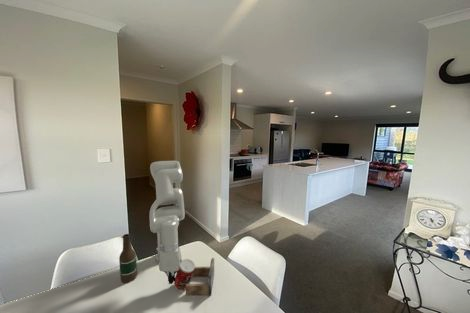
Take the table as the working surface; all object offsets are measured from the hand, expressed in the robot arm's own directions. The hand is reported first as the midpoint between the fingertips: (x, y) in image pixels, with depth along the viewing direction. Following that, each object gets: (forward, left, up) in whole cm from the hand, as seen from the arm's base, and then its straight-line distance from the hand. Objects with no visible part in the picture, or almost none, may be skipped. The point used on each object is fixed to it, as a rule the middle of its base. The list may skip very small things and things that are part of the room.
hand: (171, 282), depth 96 cm
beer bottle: (-24, -9, -3) cm, 26 cm away
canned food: (+3, +4, -2) cm, 5 cm away
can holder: (+10, +9, -3) cm, 14 cm away
